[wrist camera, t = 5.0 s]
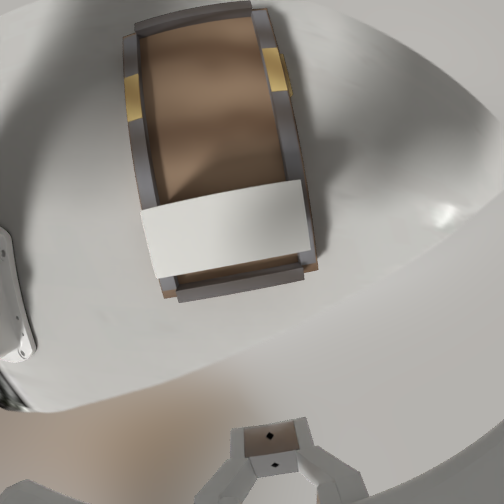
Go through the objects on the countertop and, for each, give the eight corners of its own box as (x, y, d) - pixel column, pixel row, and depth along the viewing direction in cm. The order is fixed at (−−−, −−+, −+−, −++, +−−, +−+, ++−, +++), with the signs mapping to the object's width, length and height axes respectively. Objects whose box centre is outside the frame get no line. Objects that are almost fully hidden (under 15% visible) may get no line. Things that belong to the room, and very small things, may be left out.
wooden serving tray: (314, 262, 24) (327, 274, 21) (169, 290, 24) (159, 305, 20) (267, 19, 18) (272, -1, 15) (129, 45, 18) (117, 29, 15)
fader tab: (289, 233, 21) (310, 250, 15) (175, 254, 21) (156, 279, 15) (281, 181, 20) (300, 179, 14) (164, 204, 20) (139, 210, 14)
